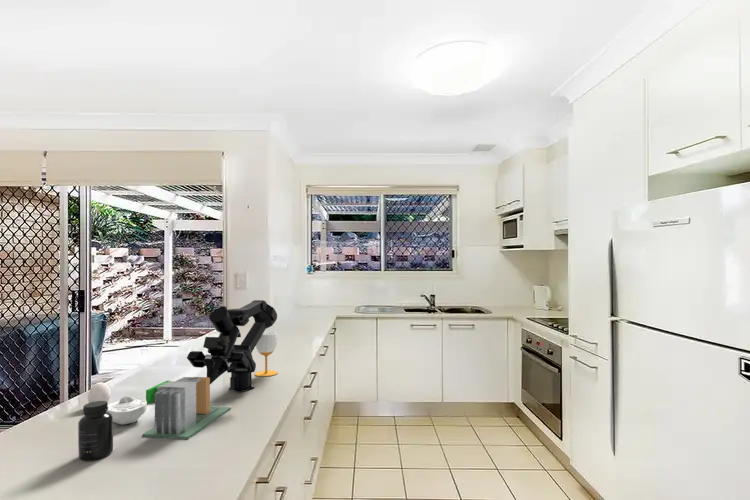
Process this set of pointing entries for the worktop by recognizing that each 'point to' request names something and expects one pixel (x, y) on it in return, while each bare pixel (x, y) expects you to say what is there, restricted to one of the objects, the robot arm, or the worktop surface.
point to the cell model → (127, 410)
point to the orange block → (203, 395)
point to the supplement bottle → (95, 432)
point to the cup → (266, 350)
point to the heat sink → (177, 406)
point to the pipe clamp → (152, 393)
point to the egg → (99, 393)
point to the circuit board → (193, 430)
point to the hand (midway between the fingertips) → (208, 384)
